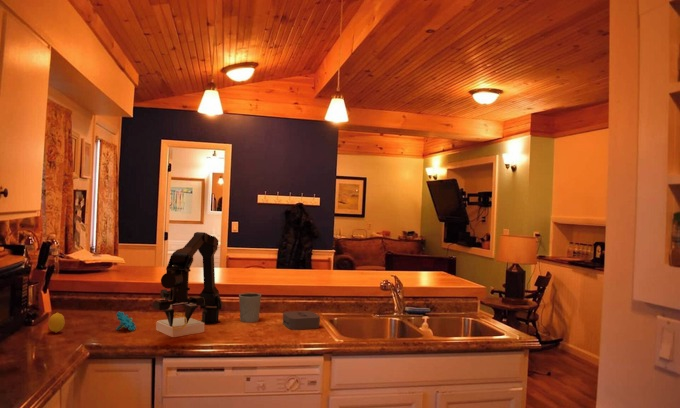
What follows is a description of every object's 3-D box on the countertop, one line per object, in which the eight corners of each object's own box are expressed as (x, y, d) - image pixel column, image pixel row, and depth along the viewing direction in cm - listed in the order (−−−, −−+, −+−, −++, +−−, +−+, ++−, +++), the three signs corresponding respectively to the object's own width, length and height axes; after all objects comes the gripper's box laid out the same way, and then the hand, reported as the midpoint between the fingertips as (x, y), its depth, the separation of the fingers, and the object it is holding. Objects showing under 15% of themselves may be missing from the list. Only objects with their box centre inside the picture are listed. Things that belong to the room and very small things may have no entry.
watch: (170, 330, 182) (170, 315, 182) (170, 328, 184) (169, 313, 184) (187, 328, 184) (186, 313, 184) (186, 326, 187) (186, 311, 186)
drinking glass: (264, 320, 224) (265, 294, 225) (249, 324, 216) (250, 297, 216) (248, 317, 230) (249, 292, 230) (233, 320, 221) (234, 294, 222)
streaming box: (321, 329, 214) (321, 317, 214) (290, 330, 209) (290, 319, 209) (310, 321, 227) (311, 310, 228) (281, 323, 222) (281, 311, 222)
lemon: (67, 332, 189) (68, 312, 189) (53, 335, 184) (55, 314, 184) (58, 330, 191) (59, 310, 191) (44, 333, 186) (45, 312, 186)
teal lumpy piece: (131, 329, 191) (115, 311, 192) (119, 340, 190) (103, 321, 191) (141, 327, 202) (126, 309, 203) (130, 336, 201) (115, 318, 202)
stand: (187, 325, 209) (187, 316, 209) (204, 331, 199) (204, 322, 199) (156, 330, 199) (156, 320, 199) (172, 337, 189) (173, 327, 189)
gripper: (191, 279, 197) (189, 317, 196) (147, 283, 183) (145, 324, 183) (206, 283, 189) (204, 323, 189) (161, 287, 175) (159, 330, 175)
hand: (178, 325), depth 184 cm, fingers closed on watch, 6 cm apart
